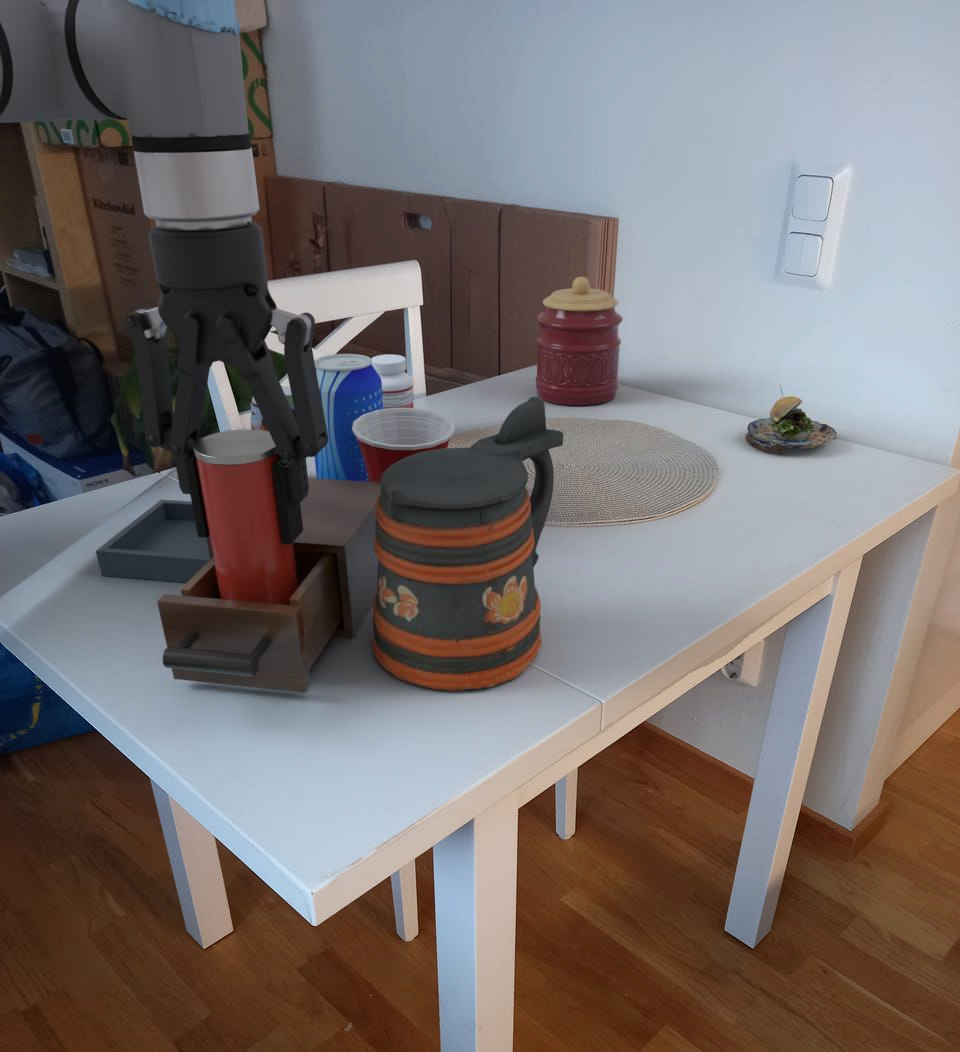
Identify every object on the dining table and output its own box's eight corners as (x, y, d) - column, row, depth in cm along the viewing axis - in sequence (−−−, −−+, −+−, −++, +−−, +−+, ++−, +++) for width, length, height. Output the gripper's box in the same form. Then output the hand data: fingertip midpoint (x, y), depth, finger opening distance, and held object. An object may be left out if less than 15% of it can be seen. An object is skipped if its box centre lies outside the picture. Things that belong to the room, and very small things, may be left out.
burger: (782, 463, 119) (792, 405, 115) (726, 436, 128) (733, 382, 124) (855, 449, 123) (866, 393, 119) (795, 424, 132) (804, 371, 129)
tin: (214, 650, 77) (178, 454, 68) (245, 612, 82) (216, 427, 74) (288, 657, 76) (260, 459, 67) (315, 619, 81) (293, 431, 73)
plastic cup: (393, 557, 96) (385, 446, 90) (342, 523, 104) (332, 419, 98) (477, 531, 102) (475, 425, 96) (423, 501, 109) (418, 400, 103)
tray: (101, 575, 94) (95, 550, 92) (165, 522, 105) (161, 499, 104) (226, 586, 91) (222, 561, 90) (278, 530, 103) (275, 507, 101)
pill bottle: (371, 432, 132) (366, 353, 126) (414, 431, 132) (411, 352, 126) (370, 446, 126) (364, 365, 121) (415, 445, 127) (411, 363, 121)
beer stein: (477, 575, 93) (475, 375, 82) (601, 620, 85) (615, 405, 74) (338, 653, 80) (315, 429, 70) (468, 715, 72) (463, 471, 62)
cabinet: (353, 638, 82) (344, 546, 78) (221, 626, 84) (205, 535, 80) (397, 566, 95) (391, 482, 90) (281, 557, 97) (270, 475, 92)
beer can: (360, 514, 106) (348, 374, 98) (304, 500, 110) (288, 364, 102) (402, 490, 112) (395, 357, 104) (348, 478, 116) (337, 348, 108)
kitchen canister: (627, 404, 141) (636, 283, 132) (543, 409, 140) (547, 286, 131) (605, 382, 152) (612, 268, 143) (528, 385, 151) (530, 271, 142)
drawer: (286, 724, 70) (273, 642, 66) (147, 709, 72) (128, 628, 68) (357, 611, 85) (350, 539, 81) (241, 601, 87) (229, 530, 83)
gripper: (358, 216, 64) (380, 523, 76) (103, 212, 67) (162, 507, 79) (322, 231, 58) (352, 563, 69) (42, 226, 61) (116, 544, 73)
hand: (251, 533), depth 74 cm, fingers closed on tin, 6 cm apart
